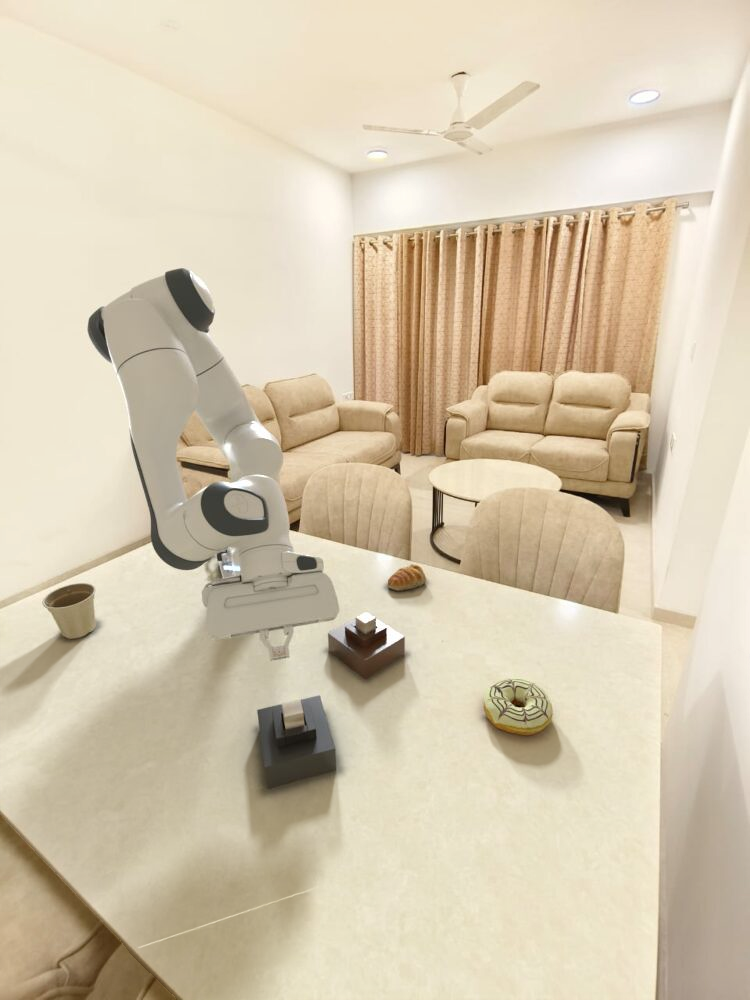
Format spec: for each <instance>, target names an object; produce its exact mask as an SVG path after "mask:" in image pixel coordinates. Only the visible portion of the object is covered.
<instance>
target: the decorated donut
mask: <svg viewBox="0 0 750 1000" xmlns="http://www.w3.org/2000/svg"><path fill="white" fill-rule="evenodd" d="M518 706H519V707H518ZM553 710H554V709H553V704H552V702H551V700H550V698H549V696H548V694H547V692H546V691H545V690H544V688H542V687H541V686H539V685H537V684H536V683H534V682H532V681H529V680H526V679H523V678H520V677H514V678H504V679H502V680H499V681H497V682H495V683H493V684H491V685H489V687H488V688H486V690H485V692H484V696H483V711H484V713H485V717H486V719H488V720H489V721H490V723H491V724H492V725H493V726H494V727H496V728H497V729H499V730H501V731H505V732H506V733H512V734H516V735H521V736H531V735H535V734H537V733H540V732H542V731H543V730H544V729H545V728H546V727H547V726H548V725H549V724H550V723H551V722H552V719H553V715H554V711H553Z"/></svg>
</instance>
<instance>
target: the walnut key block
mask: <svg viewBox="0 0 750 1000" xmlns="http://www.w3.org/2000/svg"><path fill="white" fill-rule="evenodd" d="M327 642H328V643H327V644H328V652H330V653H331V654H332V655H334V656H335V657H336V658H337V659H339V660H340V661H342V663H344V664H345V665H347V666H348V667H349V668H351V669H352V670H353V671H355V673H357V674H358V675H360V676H361V677H362V678H363V679H365V680H367V679H369V678H370V677H372V676H374V675H375V674H377V673H379V672H380V671H381V670H383V669H385V668H386V667H387V666H389V665H391V664H392V663H394V662H396V661H397V660H399V659H400V658H402V657H403V656H405V654H406V653H405V652H406V651H405V650H406V648H405V647H406V643H405V642H406V636H404V635H403V634H401V632H398V631H397V630H395V629H393V628H392V627H390V626H389V625H387V624H386V623H384V622H382V621H381V620H379V619H377V618H376V629H374V630H372V631H371V632H369V633H367V634H363V633H362V632H361V631H359V630H358V629H356V621H355V618H353V619H352V620H349V621H348V622H346V623H344V624H342V625H340V626H338V627H336V628H334V629H333V630H331V631H329V632H327Z"/></svg>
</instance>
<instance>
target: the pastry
mask: <svg viewBox="0 0 750 1000" xmlns="http://www.w3.org/2000/svg"><path fill="white" fill-rule="evenodd" d="M425 582H427V577H426V574H425V572H424V570H423V568H422V567H421V565H418V564H413V563H411V564H410V565H408V566H404V567H400V568H399V569H398V570H396V571H395V572H394V573H393V574H391V576H390V577H389V578H388V579H387V587H388V588H389V589H391V590H394V591H398V592H400V591H403V592H404V591H405V590H411V589H412V590H413V589H415V588H417V587H421V586H423V585H424V584H425Z"/></svg>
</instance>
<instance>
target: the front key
mask: <svg viewBox="0 0 750 1000" xmlns="http://www.w3.org/2000/svg"><path fill="white" fill-rule="evenodd" d="M281 704H282V712H283V719H284V725H285V730H288V729H292V728H296V727H300V726H304V725H305V724H304V713H303V708H302V704H301V699H296V700H291V701H287V702H283V703H281Z"/></svg>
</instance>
